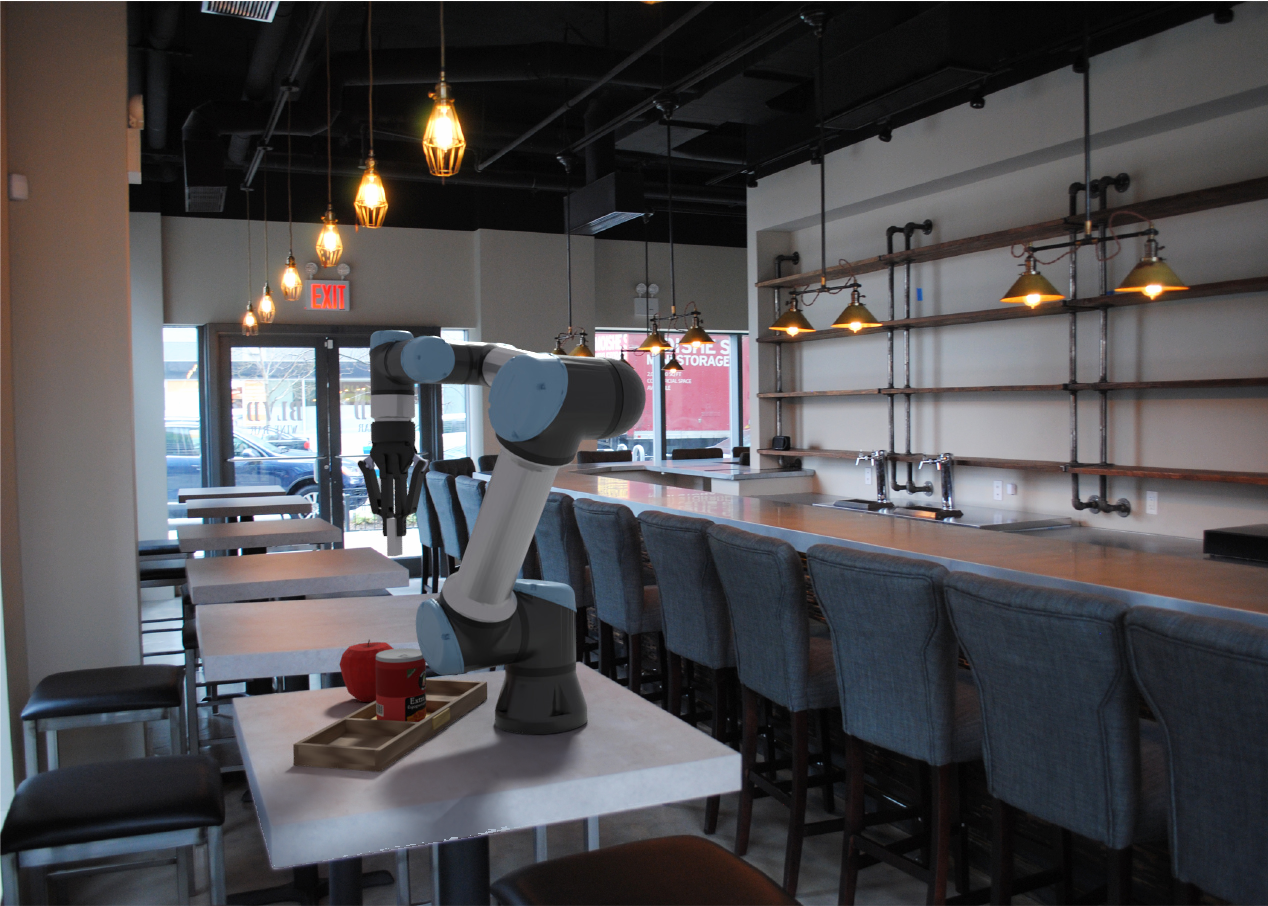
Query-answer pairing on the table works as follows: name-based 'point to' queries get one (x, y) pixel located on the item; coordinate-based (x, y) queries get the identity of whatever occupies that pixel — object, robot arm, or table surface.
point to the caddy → (387, 730)
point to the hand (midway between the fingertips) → (394, 555)
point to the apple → (361, 669)
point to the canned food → (400, 685)
